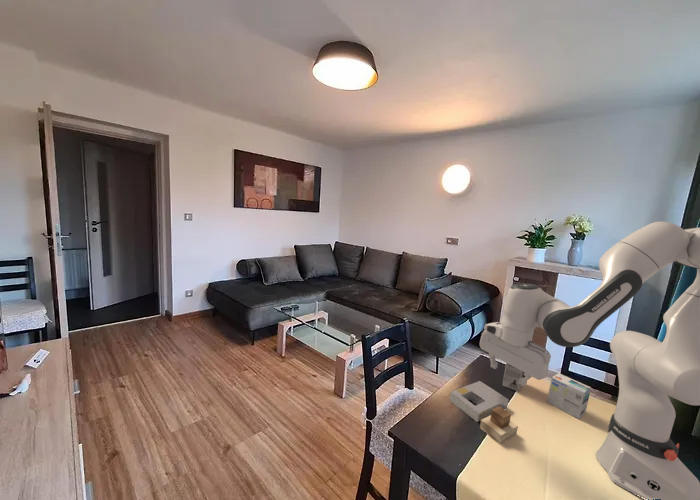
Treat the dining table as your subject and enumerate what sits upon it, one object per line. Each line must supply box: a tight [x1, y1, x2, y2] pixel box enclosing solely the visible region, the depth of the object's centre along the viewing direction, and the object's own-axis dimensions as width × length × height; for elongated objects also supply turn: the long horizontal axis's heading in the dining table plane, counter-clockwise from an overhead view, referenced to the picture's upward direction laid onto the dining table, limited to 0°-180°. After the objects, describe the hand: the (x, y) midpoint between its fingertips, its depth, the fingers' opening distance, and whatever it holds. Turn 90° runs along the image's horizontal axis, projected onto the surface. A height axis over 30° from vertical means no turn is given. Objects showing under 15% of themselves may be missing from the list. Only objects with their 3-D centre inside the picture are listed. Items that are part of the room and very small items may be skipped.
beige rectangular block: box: [479, 415, 519, 445], centre depth 94 cm, size 7×9×3 cm
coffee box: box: [502, 362, 524, 392], centre depth 121 cm, size 9×6×16 cm
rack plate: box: [448, 380, 509, 423], centre depth 107 cm, size 12×17×4 cm
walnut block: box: [490, 406, 512, 429], centre depth 94 cm, size 4×4×4 cm
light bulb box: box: [546, 372, 592, 420], centre depth 108 cm, size 11×7×11 cm, turn 35°
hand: (507, 375), depth 91 cm, fingers open, 8 cm apart
